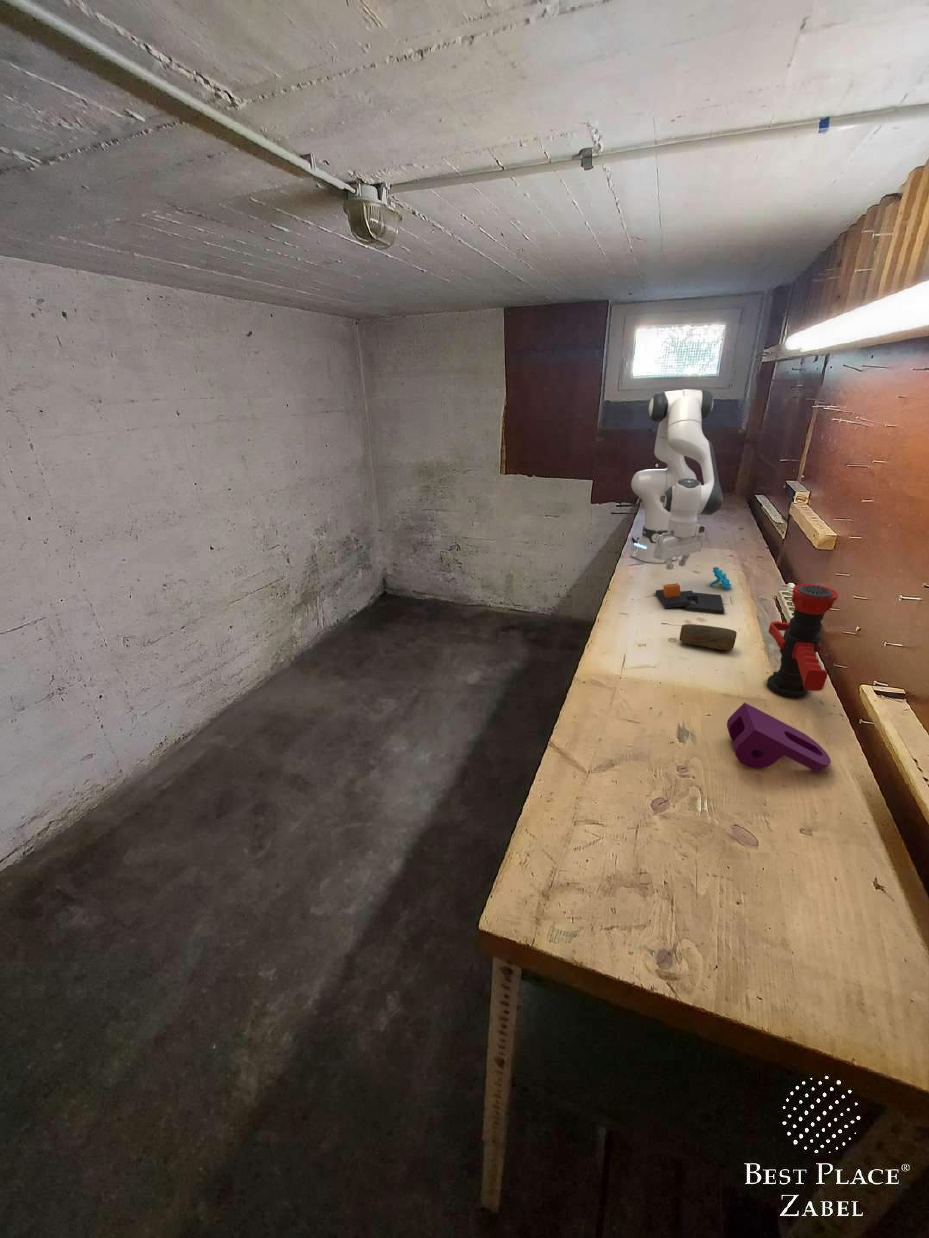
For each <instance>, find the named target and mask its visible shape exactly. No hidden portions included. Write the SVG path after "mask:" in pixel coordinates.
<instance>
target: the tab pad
mask: <svg viewBox="0 0 929 1238" xmlns="http://www.w3.org/2000/svg"><path fill="white" fill-rule="evenodd" d="M662 587H663V588H662V589H655V595H656V596H657V598H658V599H659V601H660V602H661V604H662V606H663V607H664V609H670V608H679V607H685V606H687V605H689V603H690V601H697V600H696V595H695V594H694V593H695V592H694V591H693V590H692V589H691V590H683V591H682V590H681V585H680V584H679V583H678V582H674V583H669V584H668V583H667V584H663V586H662Z"/></svg>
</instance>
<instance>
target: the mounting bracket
mask: <svg viewBox="0 0 929 1238" xmlns="http://www.w3.org/2000/svg"><path fill="white" fill-rule="evenodd" d="M726 728H727V729H726V730H727V732H728V734H729V737H730V739H731V740H732V741H733V747H732V748H733V752H734V753H735V757H736V759H737V760H738V762H739V763H741V765H743V766H745V767H748V768H751V769H764V768H768V767H770V766H772V765H773V764H775V763H776V762H777V761H779V760H780V759H781V758H782V757H787V758H788V759H791V760H793V761H795V762H797V763H798V764H800V765H802V766H804V767H806V768H808V769H810V770H812V771H815V772H823V771H824V770H825V769H826V768H828V767H829V766H830V765H831V764H832V760H831V757H830V756H829V754H828V753H827V752H826V750H825V749H824V748H823V746H821V745H820V744H819V743H818V742H817V741H816V740H814V739H813V738H811V737H810V736H809V735H807V734H806V733H804V732H802V731H801V730H798V729H796V728H795V727H794V726H791V725H789V724H787V723H785V722H783V721H781V720H779V719H778V718H775V717H774V716H772V715H770V714H768V713H766V712H764V711H762V710H760V709H758V708H756V707H754V706H753V705H751V704H749V703H747V702H745V701H744V702H743V703H742V704H741V705H740V706H739V707H738V708H737V709H736V710H735V711H734V712H733V713H732V714H731V715H730V717H729V718H728V719H727V721H726Z"/></svg>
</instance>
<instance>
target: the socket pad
mask: <svg viewBox="0 0 929 1238" xmlns="http://www.w3.org/2000/svg"><path fill="white" fill-rule="evenodd" d="M694 594H695V595H696V600H695V601H696V603H694V602H693V603H692V602H689V605H687V606H684V610H685V611H687V612H688V611H689V612H698V613H704V614H705V613H706V614H715V615H724V614H725V608H724V603H723V597H722V595H721V594H716V593H715V594H714V593H713V594H712V593H703V592H694Z"/></svg>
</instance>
